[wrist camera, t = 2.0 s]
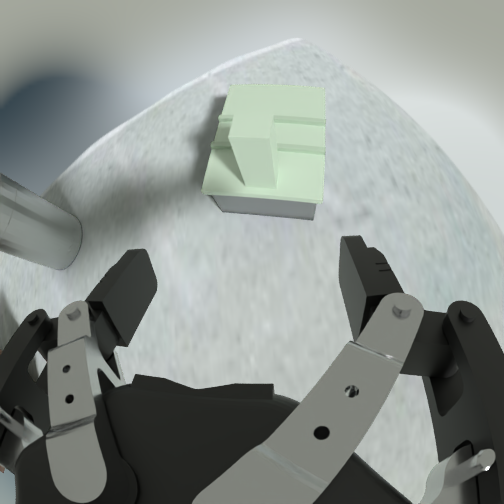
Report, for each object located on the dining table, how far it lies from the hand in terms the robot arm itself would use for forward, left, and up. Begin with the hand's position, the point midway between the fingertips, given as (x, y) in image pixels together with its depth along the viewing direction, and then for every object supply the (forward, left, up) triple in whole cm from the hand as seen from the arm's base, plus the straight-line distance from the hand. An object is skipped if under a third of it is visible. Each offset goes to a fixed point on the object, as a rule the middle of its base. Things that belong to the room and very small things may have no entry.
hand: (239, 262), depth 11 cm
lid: (-2, +17, -14) cm, 22 cm away
